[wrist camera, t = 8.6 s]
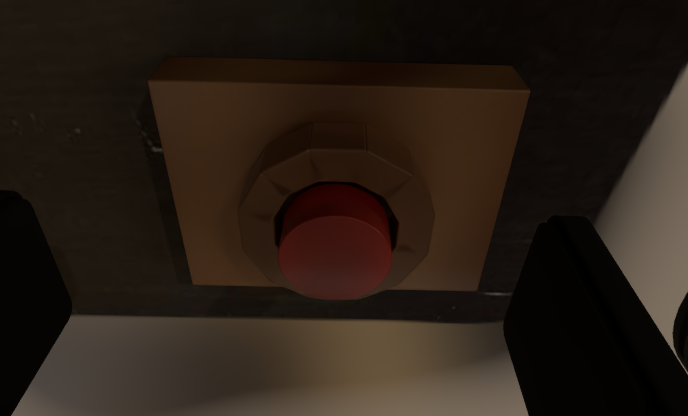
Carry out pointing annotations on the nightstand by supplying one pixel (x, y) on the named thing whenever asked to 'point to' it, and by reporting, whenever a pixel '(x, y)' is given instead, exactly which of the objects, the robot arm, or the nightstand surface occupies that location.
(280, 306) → the nightstand surface
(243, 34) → the nightstand surface
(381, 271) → the button
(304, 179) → the red push button box
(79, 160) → the nightstand surface
